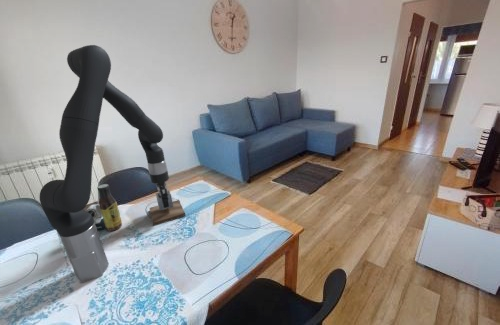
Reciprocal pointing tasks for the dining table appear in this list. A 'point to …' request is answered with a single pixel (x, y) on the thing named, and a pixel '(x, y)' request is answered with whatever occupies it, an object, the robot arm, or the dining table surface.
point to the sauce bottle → (109, 208)
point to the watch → (97, 216)
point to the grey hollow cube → (160, 202)
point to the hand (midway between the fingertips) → (165, 203)
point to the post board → (166, 213)
